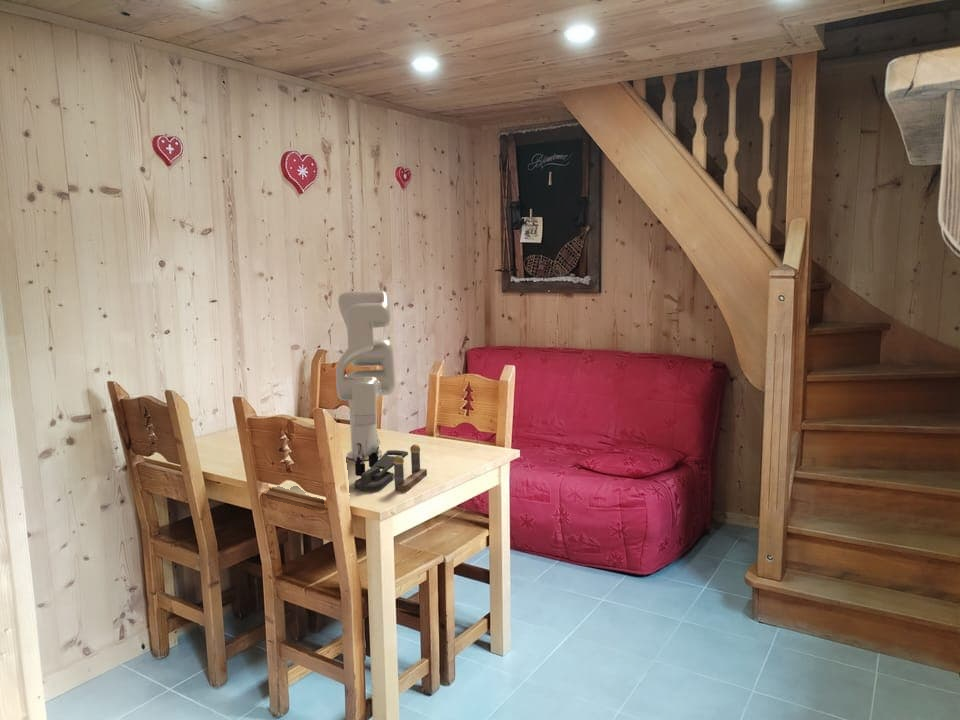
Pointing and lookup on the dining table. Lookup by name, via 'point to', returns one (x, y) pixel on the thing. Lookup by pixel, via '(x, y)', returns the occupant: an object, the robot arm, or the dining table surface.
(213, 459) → the dining table surface
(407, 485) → the peg stop rail
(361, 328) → the robot arm
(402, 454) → the zipper pull
